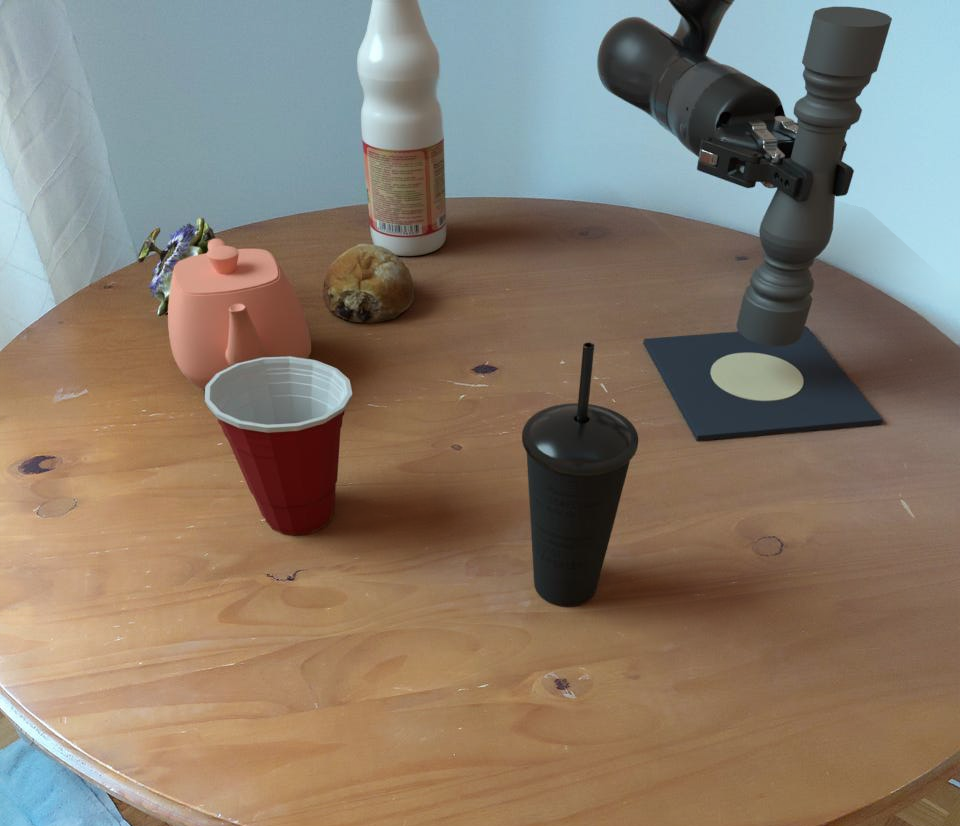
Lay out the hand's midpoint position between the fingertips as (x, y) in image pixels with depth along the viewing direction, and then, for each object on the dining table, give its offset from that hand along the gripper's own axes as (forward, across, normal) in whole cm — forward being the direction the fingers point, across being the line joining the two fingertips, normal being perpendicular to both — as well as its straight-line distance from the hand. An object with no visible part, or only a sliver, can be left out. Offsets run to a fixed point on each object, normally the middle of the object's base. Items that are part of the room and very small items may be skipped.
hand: (826, 186), depth 72 cm
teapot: (-20, -48, +20) cm, 55 cm away
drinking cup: (+19, -29, +20) cm, 40 cm away
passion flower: (-35, -50, +20) cm, 64 cm away
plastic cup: (+3, -47, +20) cm, 51 cm away
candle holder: (-3, 0, +14) cm, 14 cm away
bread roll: (-31, -32, +20) cm, 49 cm away
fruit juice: (-46, -24, +20) cm, 55 cm away
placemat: (-3, 0, +20) cm, 20 cm away
